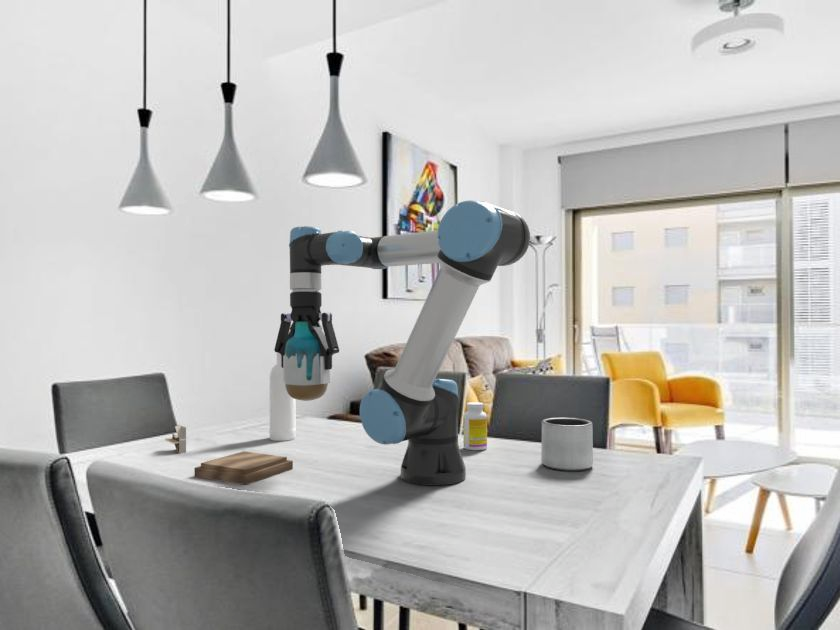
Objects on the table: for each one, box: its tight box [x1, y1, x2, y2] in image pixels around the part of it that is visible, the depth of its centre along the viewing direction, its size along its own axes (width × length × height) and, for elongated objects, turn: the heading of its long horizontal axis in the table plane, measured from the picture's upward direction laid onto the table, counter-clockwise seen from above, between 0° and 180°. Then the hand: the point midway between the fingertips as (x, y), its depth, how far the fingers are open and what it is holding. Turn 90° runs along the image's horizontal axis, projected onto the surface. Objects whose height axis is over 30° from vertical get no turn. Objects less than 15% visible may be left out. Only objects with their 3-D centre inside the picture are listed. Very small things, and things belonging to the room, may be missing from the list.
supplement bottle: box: [462, 401, 488, 452], centre depth 171 cm, size 7×7×13 cm
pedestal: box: [194, 450, 294, 486], centre depth 144 cm, size 16×16×3 cm
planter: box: [540, 417, 594, 472], centre depth 151 cm, size 13×13×11 cm
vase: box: [284, 322, 329, 402], centre depth 146 cm, size 11×11×19 cm
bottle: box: [268, 352, 297, 442], centre depth 185 cm, size 8×8×30 cm
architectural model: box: [164, 424, 187, 454], centre depth 168 cm, size 3×7×7 cm, turn 42°
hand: (306, 382), depth 146 cm, fingers closed on vase, 10 cm apart
